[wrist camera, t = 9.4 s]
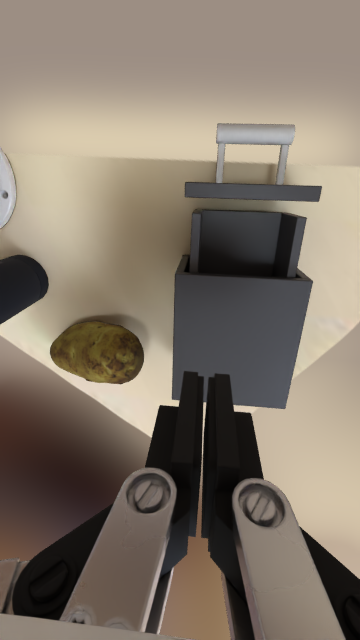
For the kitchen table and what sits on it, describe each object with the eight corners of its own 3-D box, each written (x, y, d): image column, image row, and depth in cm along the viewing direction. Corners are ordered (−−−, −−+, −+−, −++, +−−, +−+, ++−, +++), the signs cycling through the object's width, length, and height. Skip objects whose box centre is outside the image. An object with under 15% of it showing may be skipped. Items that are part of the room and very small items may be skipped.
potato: (62, 300, 40) (28, 324, 32) (154, 321, 40) (142, 350, 32) (59, 352, 43) (29, 385, 36) (145, 371, 43) (132, 408, 36)
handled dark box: (192, 132, 30) (187, 115, 23) (307, 134, 29) (336, 117, 22) (185, 301, 37) (180, 325, 31) (277, 307, 36) (292, 332, 30)
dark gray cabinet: (182, 254, 36) (174, 273, 27) (288, 260, 35) (313, 281, 27) (179, 358, 42) (171, 399, 33) (269, 365, 41) (285, 409, 32)
